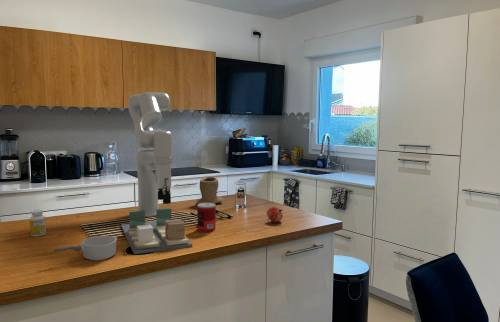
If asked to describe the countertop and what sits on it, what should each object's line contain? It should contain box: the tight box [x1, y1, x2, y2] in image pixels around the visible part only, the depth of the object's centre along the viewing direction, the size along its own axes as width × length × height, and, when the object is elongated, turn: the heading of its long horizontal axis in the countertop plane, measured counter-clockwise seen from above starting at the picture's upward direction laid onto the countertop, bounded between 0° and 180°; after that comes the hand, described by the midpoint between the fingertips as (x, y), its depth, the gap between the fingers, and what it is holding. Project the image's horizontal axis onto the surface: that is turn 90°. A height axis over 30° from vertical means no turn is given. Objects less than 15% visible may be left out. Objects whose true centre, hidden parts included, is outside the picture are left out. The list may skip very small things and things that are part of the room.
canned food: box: [196, 203, 217, 233], centre depth 167 cm, size 8×8×11 cm
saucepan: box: [53, 235, 118, 261], centre depth 132 cm, size 12×20×6 cm, turn 131°
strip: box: [155, 207, 190, 246], centre depth 155 cm, size 25×8×8 cm, turn 25°
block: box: [137, 224, 153, 243], centre depth 145 cm, size 5×5×5 cm
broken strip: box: [128, 210, 159, 249], centre depth 150 cm, size 25×8×8 cm, turn 25°
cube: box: [165, 218, 186, 240], centre depth 148 cm, size 6×6×6 cm
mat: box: [120, 220, 193, 255], centre depth 158 cm, size 37×21×1 cm, turn 25°
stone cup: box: [196, 176, 224, 204], centre depth 216 cm, size 15×12×15 cm
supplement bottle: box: [29, 209, 47, 237], centre depth 157 cm, size 5×5×10 cm
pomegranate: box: [266, 206, 284, 224], centre depth 181 cm, size 7×7×10 cm
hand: (164, 201), depth 164 cm, fingers open, 9 cm apart
